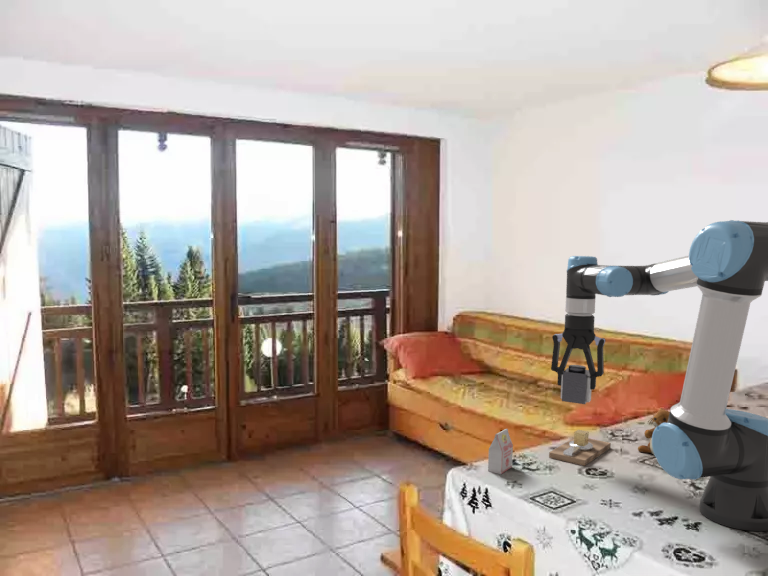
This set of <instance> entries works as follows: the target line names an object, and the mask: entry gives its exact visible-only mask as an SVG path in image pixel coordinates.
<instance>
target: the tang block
mask: <svg viewBox="0 0 768 576" xmlns="http://www.w3.org/2000/svg"><path fill="white" fill-rule="evenodd" d="M589 434H590V433H589V431H587V430H582V429H576V430H575V431H574V432H573V437H572V438H571V439H570V440H568V441H566V442H565V443H563V444H561V445H560V446H558V447H556V448H553V450H552V449H551V451H550V452H549V453H548V458H549V459H554V460H558V461H562V462H566V463H570V464H575V465H579V466H584V467H585V466H587V465H588V464H589V463H591V462H593V461H594V460H595V459H596V458H599V457H600V455H603V454H604V453H606V452H607V451H609V450H610V449H611V444H612V443H611V442H608V441H604V440H598V439H594V438H590V437H589Z"/></svg>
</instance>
